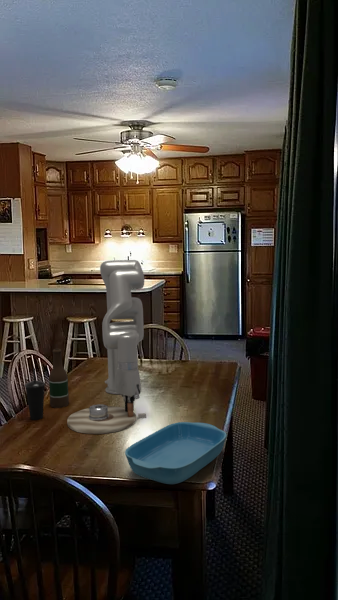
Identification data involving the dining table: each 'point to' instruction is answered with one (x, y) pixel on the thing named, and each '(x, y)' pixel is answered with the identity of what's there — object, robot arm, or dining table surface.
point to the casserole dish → (175, 451)
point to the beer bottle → (58, 382)
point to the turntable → (113, 424)
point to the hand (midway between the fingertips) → (129, 411)
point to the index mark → (142, 415)
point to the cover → (98, 412)
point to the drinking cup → (35, 398)
